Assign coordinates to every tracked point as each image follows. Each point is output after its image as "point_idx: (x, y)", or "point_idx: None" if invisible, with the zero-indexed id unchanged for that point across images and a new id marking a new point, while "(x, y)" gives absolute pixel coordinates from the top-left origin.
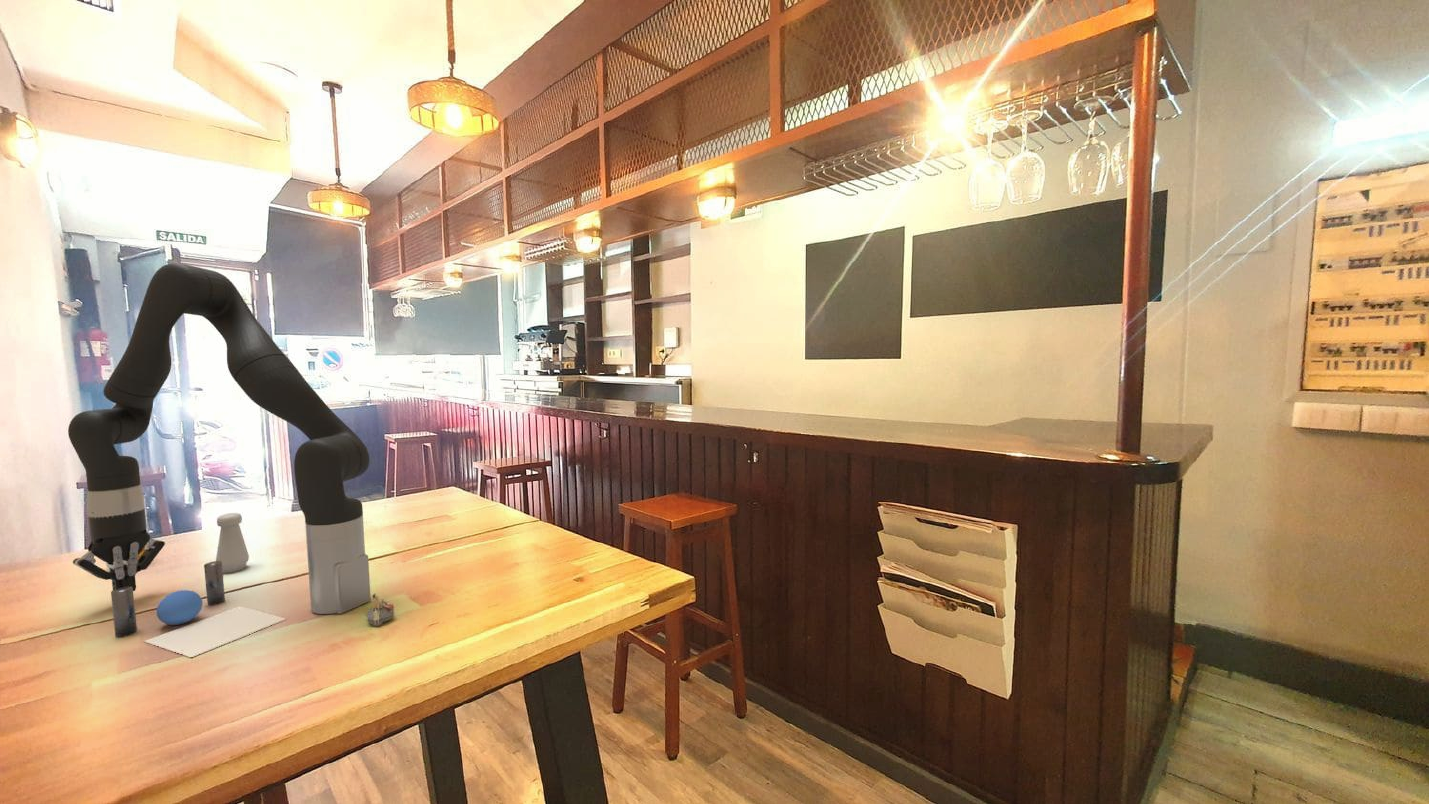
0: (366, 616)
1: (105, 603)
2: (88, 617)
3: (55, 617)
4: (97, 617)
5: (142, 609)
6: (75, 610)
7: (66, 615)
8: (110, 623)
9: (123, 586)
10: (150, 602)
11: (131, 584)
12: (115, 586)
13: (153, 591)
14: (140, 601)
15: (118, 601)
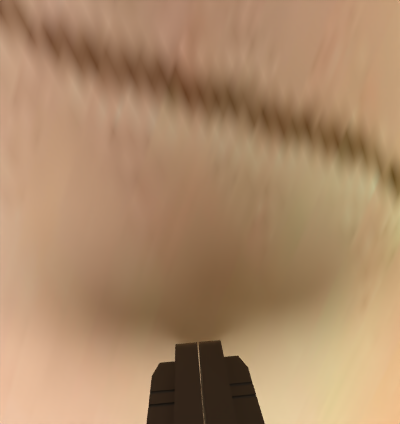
0: None
1: None
2: (348, 278)
3: (388, 397)
4: (335, 239)
5: (197, 145)
6: (324, 415)
7: (364, 385)
8: (357, 72)
9: (223, 389)
10: (136, 226)
11: (177, 392)
12: (260, 414)
13: (73, 385)
14: (156, 291)
15: None
